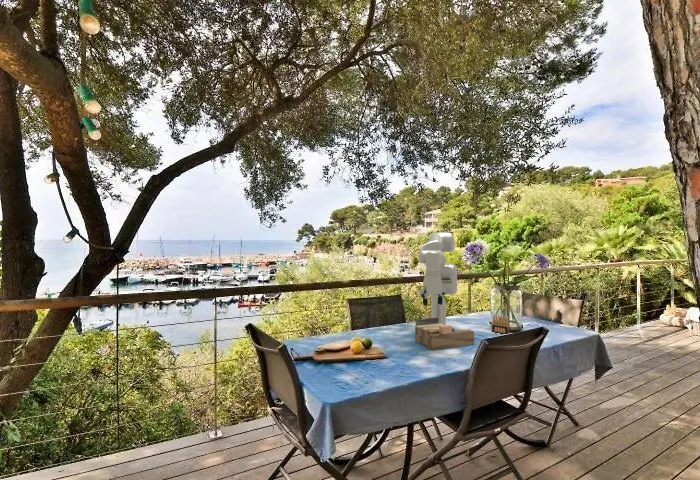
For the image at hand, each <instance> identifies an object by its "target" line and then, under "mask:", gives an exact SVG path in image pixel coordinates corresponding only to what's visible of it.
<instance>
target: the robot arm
mask: <svg viewBox="0 0 700 480" xmlns="http://www.w3.org/2000/svg"><path fill="white" fill-rule="evenodd" d="M455 241H456V240H455V236H454V235H453V233H452V232H444V231H442V232H441V231H440V232H433V233H432V234H431V235H430V237H429V239H428V240H427V242H426V243H424V244H423V245H421V246H420V248H419V252H418V256H417V257H418V261H419V263H420V264H425V276H424V277H423V283H422V288H421V289H419V290H418V293H419V295H420V297H421V298H422V305H423V306H425V307H428V296H430V300H431V301H430V303H431V304H430V305H431V307H430V309H431V310H430V312H431V313H430V316H431V317H430V318H438V323H441V324H444V325H447V300H446V299H445V297H444V296H445V295H449V296H450V295H451V296H452V295H453V296H454V295H456V294H457V292H458V269H457V266H456V264H454V263H446V256H445V253H452V252H454V251H455V248H456V242H455Z"/></svg>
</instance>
